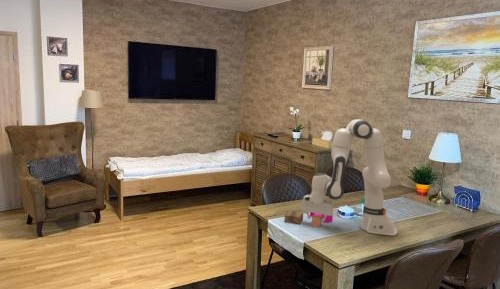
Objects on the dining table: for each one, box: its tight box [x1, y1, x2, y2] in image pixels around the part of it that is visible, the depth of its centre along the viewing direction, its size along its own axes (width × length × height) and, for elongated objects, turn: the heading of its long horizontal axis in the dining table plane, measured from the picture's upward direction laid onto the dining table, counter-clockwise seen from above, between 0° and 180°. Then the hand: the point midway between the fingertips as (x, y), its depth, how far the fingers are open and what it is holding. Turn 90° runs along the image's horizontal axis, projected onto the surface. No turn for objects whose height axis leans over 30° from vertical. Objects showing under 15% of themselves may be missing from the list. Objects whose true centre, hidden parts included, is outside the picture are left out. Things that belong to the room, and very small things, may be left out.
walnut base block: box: [284, 210, 304, 225], centre depth 247 cm, size 10×10×5 cm
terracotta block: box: [311, 214, 322, 228], centre depth 241 cm, size 5×5×6 cm
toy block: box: [309, 212, 334, 224], centre depth 253 cm, size 15×6×8 cm, turn 33°
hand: (316, 219), depth 240 cm, fingers open, 8 cm apart
